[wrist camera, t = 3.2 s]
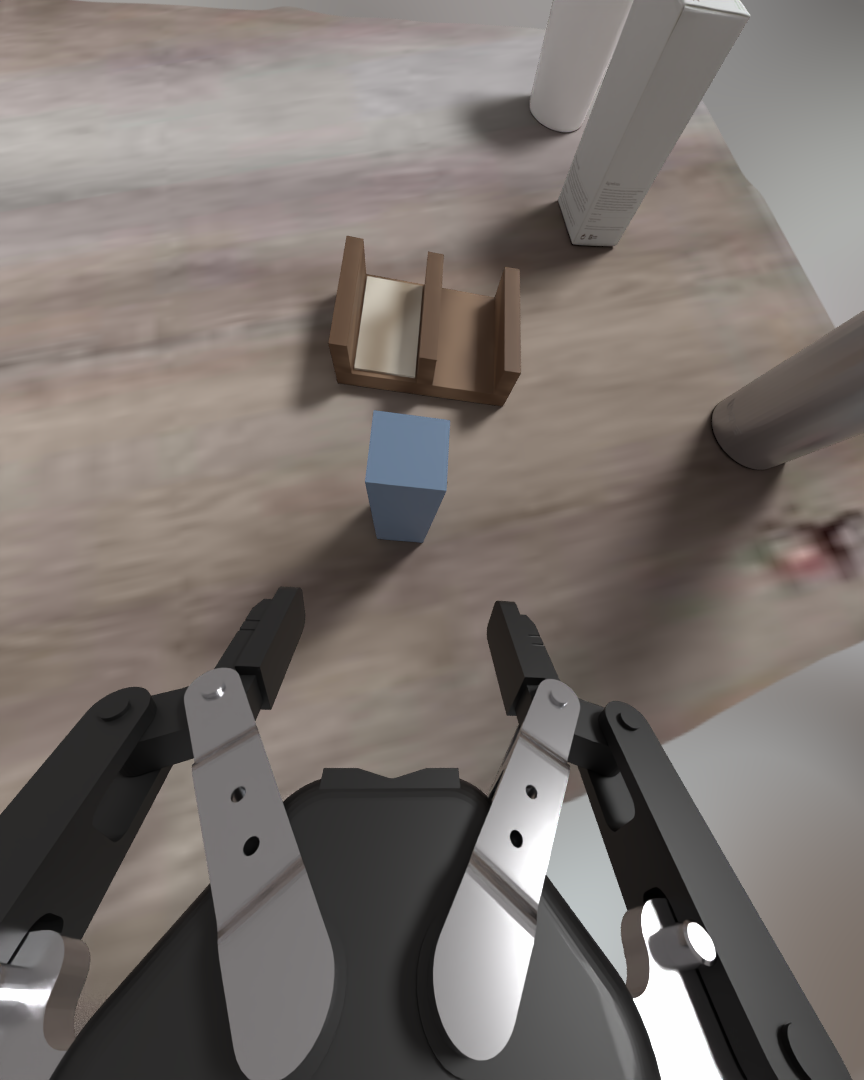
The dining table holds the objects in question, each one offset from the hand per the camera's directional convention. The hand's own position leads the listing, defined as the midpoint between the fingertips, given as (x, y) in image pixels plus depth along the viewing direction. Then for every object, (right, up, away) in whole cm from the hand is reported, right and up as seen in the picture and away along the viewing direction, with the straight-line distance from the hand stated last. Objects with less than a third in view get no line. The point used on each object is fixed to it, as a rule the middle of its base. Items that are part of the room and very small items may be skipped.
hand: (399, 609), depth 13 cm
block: (-1, +5, +14) cm, 15 cm away
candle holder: (+19, +64, +31) cm, 74 cm away
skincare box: (+21, +44, +27) cm, 55 cm away
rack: (+1, +23, +19) cm, 30 cm away
